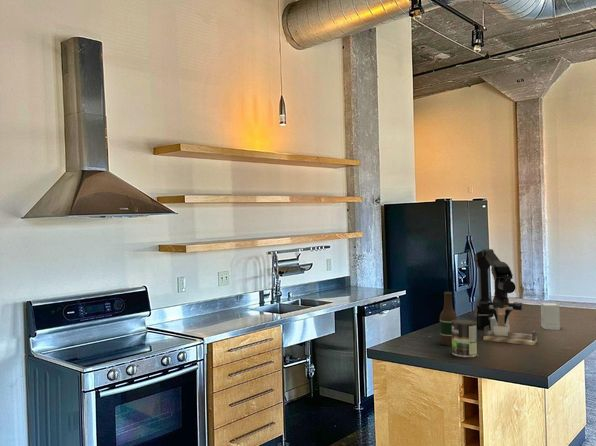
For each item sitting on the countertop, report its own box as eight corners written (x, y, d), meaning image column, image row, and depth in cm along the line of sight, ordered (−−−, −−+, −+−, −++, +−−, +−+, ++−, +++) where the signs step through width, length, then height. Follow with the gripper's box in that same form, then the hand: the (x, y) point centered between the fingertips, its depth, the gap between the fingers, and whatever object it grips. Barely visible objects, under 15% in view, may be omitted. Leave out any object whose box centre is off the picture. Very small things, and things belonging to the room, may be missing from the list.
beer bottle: (457, 342, 237) (456, 291, 237) (457, 346, 230) (456, 293, 230) (440, 341, 240) (439, 290, 240) (439, 345, 232) (438, 292, 232)
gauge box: (490, 334, 252) (490, 318, 252) (493, 331, 258) (493, 316, 258) (505, 335, 249) (505, 319, 249) (508, 333, 254) (508, 317, 254)
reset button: (495, 320, 253) (495, 314, 253) (497, 319, 255) (496, 313, 255) (502, 320, 251) (502, 314, 251) (503, 319, 254) (503, 313, 254)
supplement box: (560, 330, 260) (559, 305, 260) (544, 329, 261) (544, 305, 261) (556, 327, 267) (555, 303, 267) (540, 326, 268) (540, 302, 268)
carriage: (493, 334, 240) (493, 315, 240) (496, 332, 245) (496, 313, 245) (507, 336, 237) (506, 316, 237) (509, 333, 242) (509, 314, 242)
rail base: (483, 340, 241) (483, 328, 241) (488, 335, 249) (487, 324, 249) (533, 345, 229) (533, 333, 229) (537, 340, 237) (536, 329, 237)
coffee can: (457, 357, 211) (456, 324, 211) (448, 351, 221) (447, 319, 221) (481, 356, 211) (480, 323, 211) (471, 350, 222) (470, 318, 222)
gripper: (476, 291, 239) (477, 324, 239) (519, 293, 229) (519, 328, 229) (482, 288, 249) (482, 320, 249) (523, 290, 239) (523, 323, 239)
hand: (501, 323), depth 241 cm, fingers closed on carriage, 3 cm apart
